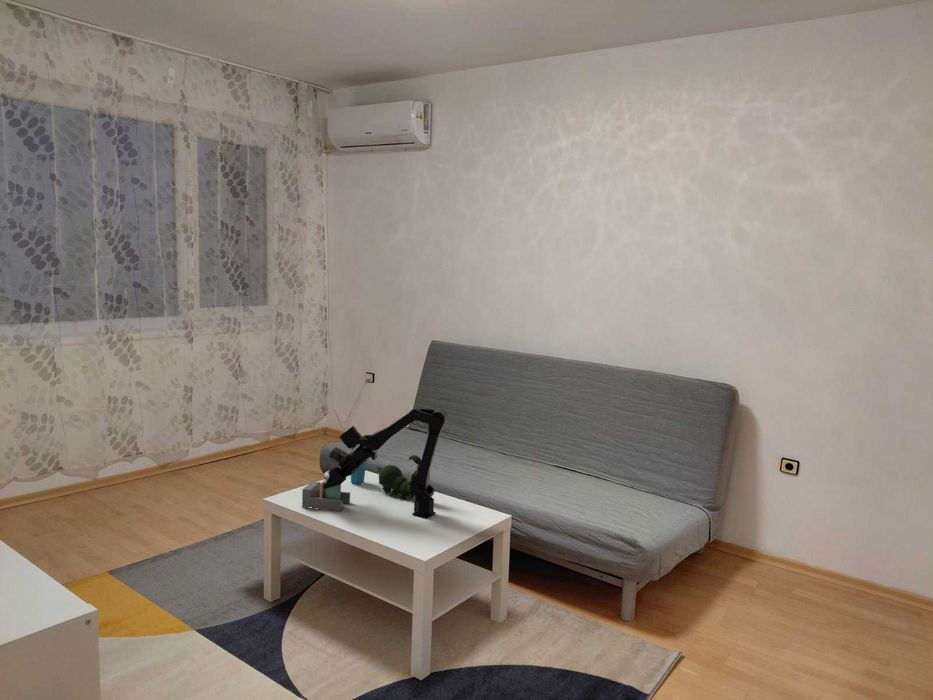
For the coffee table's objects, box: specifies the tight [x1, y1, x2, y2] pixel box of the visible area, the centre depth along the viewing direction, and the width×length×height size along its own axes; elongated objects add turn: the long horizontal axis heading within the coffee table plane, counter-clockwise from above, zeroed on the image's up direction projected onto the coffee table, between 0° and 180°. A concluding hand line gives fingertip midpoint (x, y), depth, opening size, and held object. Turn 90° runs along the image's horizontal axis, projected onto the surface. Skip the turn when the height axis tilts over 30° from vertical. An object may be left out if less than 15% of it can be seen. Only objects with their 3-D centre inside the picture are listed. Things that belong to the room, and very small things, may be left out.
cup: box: [345, 445, 368, 486], centre depth 281 cm, size 14×8×15 cm, turn 46°
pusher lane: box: [301, 480, 351, 512], centre depth 253 cm, size 15×10×7 cm, turn 81°
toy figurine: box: [376, 454, 422, 500], centre depth 268 cm, size 9×19×25 cm
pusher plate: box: [320, 479, 325, 498], centre depth 253 cm, size 1×7×9 cm, turn 171°
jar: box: [323, 470, 342, 500], centre depth 252 cm, size 6×6×12 cm
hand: (328, 484), depth 253 cm, fingers open, 9 cm apart
